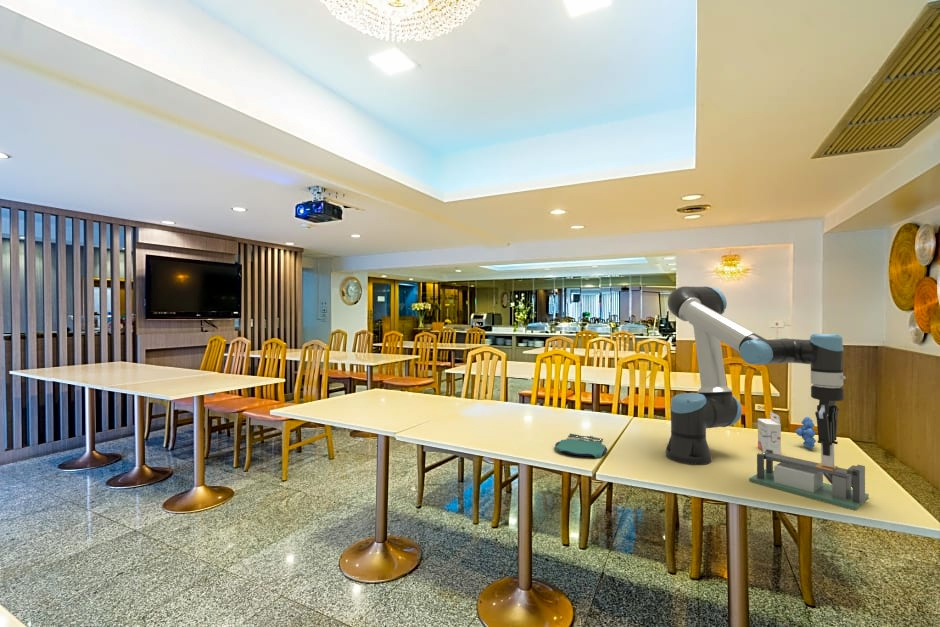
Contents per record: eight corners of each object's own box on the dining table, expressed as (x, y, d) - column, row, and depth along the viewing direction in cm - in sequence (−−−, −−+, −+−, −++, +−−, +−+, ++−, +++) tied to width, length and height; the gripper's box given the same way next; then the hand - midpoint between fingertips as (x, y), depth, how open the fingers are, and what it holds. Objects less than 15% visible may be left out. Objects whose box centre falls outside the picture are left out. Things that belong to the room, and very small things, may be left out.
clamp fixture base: (749, 481, 140) (749, 450, 140) (766, 471, 148) (766, 442, 148) (855, 510, 119) (855, 473, 119) (868, 497, 127) (868, 463, 127)
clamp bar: (758, 458, 141) (758, 453, 141) (764, 455, 144) (764, 450, 144) (846, 478, 124) (846, 472, 124) (850, 474, 127) (850, 468, 127)
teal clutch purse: (549, 455, 166) (549, 448, 166) (565, 436, 194) (565, 431, 194) (603, 462, 158) (604, 456, 158) (612, 442, 186) (612, 436, 186)
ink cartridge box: (756, 447, 175) (756, 410, 175) (770, 448, 174) (770, 411, 174) (766, 454, 166) (766, 415, 166) (781, 455, 165) (781, 416, 165)
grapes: (792, 442, 181) (792, 413, 181) (812, 444, 178) (812, 415, 178) (797, 450, 171) (797, 419, 171) (819, 452, 168) (819, 421, 168)
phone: (832, 482, 137) (819, 467, 150) (832, 486, 137) (819, 470, 150) (864, 486, 133) (848, 470, 147) (864, 490, 133) (849, 474, 147)
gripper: (836, 389, 122) (837, 474, 122) (849, 385, 130) (850, 464, 130) (804, 386, 128) (805, 467, 128) (818, 382, 136) (819, 458, 136)
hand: (827, 465), depth 129 cm, fingers closed
